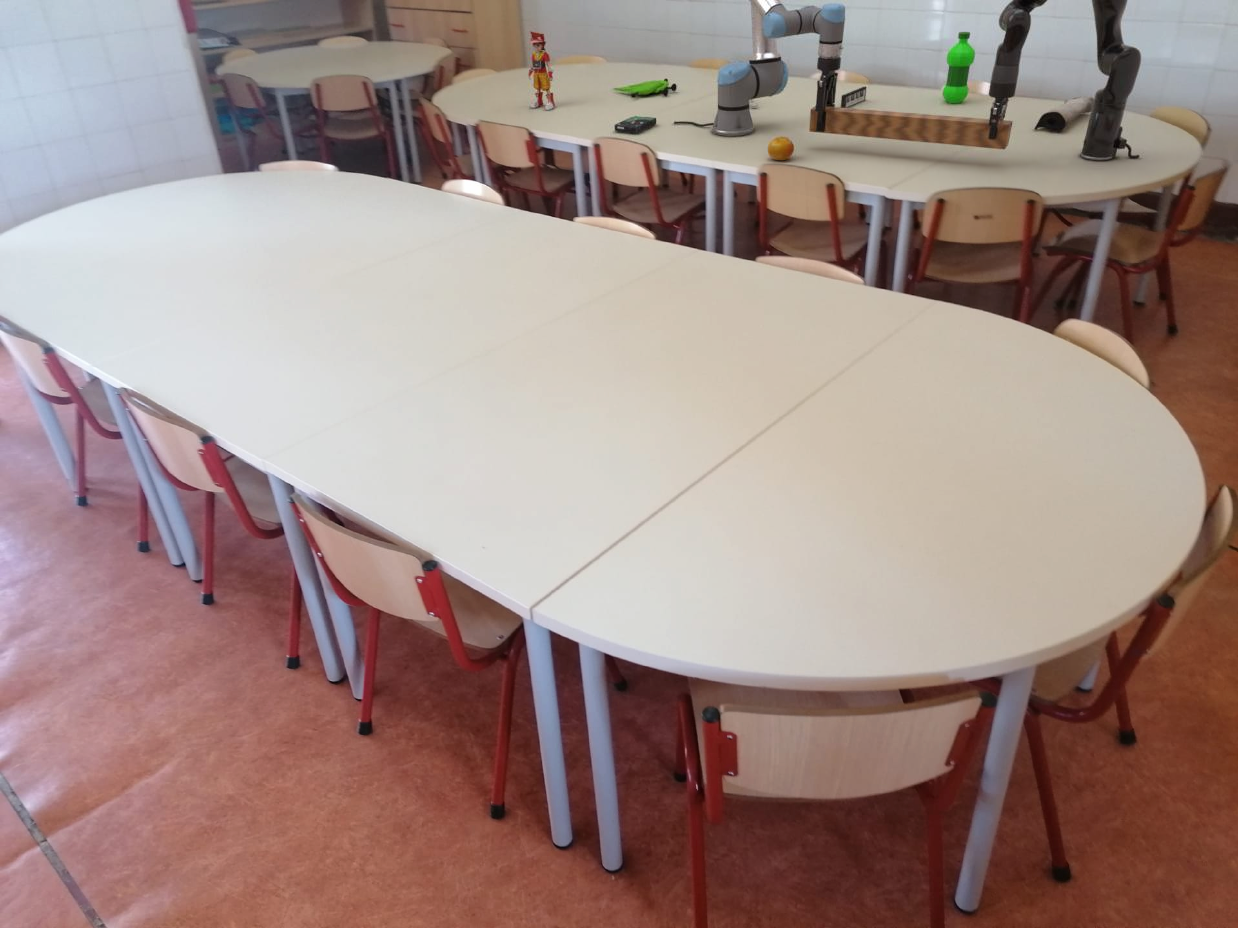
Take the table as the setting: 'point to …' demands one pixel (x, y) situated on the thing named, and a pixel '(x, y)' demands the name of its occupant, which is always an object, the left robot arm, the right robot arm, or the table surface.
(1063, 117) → the rolled mat
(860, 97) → the midi keyboard
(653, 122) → the disk drive
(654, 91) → the toy
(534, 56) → the toy
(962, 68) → the plastic bottle
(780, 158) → the fruit
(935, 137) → the beam
